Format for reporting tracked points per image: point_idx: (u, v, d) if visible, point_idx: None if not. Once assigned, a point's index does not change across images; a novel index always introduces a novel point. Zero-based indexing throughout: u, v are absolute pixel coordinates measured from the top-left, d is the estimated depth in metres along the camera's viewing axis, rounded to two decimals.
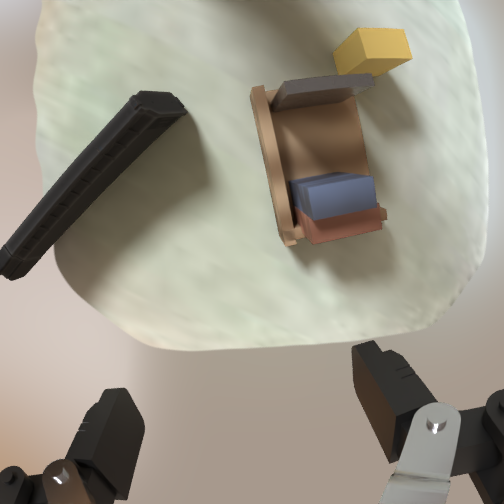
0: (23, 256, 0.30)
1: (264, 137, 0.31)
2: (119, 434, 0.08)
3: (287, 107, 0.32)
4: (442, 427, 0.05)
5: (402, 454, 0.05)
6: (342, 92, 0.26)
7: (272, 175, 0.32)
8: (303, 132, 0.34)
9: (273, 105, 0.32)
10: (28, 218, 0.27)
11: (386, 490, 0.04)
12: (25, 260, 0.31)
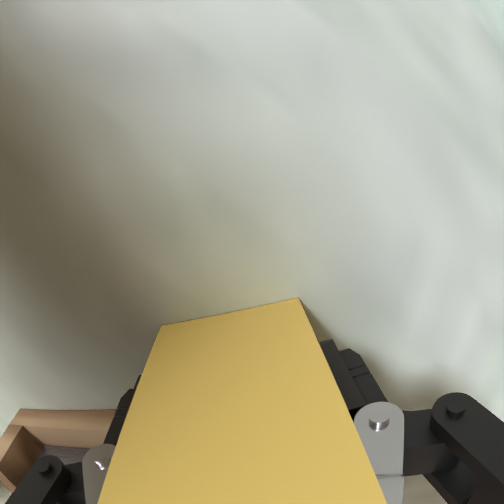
0: None
1: None
2: None
3: None
4: (383, 426, 0.06)
5: None
6: None
7: None
8: None
9: None
10: None
11: None
12: None
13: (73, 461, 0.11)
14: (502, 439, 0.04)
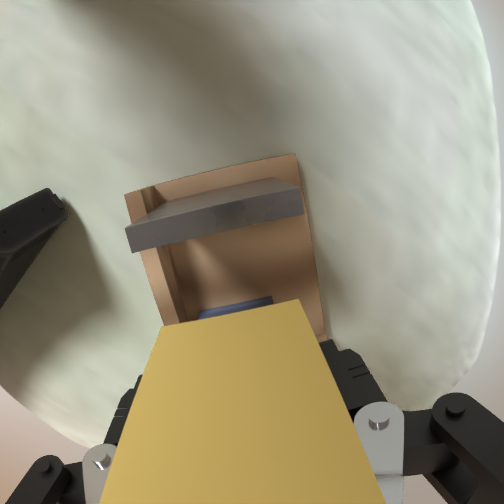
0: None
1: (147, 271, 0.21)
2: None
3: None
4: (383, 426, 0.06)
5: None
6: None
7: (164, 322, 0.22)
8: (218, 243, 0.25)
9: None
10: None
11: None
12: None
13: (200, 194, 0.22)
14: (502, 439, 0.04)
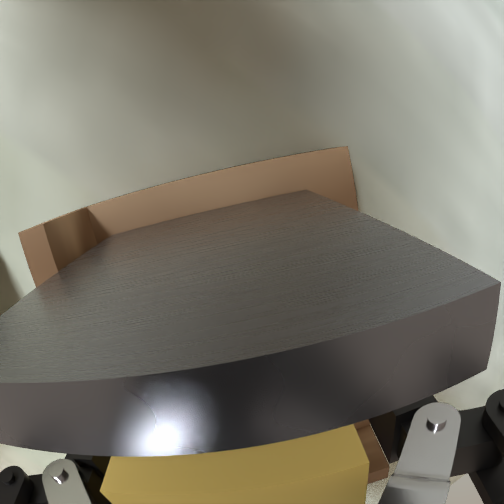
0: None
1: None
2: None
3: None
4: (442, 427, 0.05)
5: (402, 454, 0.05)
6: None
7: None
8: None
9: None
10: None
11: (386, 490, 0.04)
12: None
13: (165, 224, 0.11)
14: None
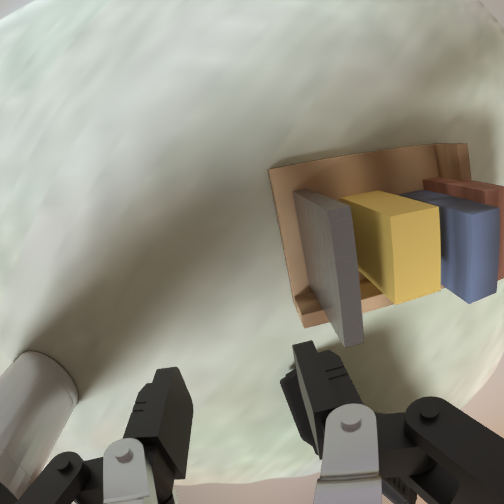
0: (407, 488, 0.29)
1: (369, 310, 0.24)
2: (176, 412, 0.09)
3: None
4: (354, 428, 0.06)
5: (323, 458, 0.06)
6: None
7: None
8: None
9: None
10: (386, 494, 0.27)
11: (316, 494, 0.04)
12: None
13: (306, 259, 0.25)
14: (480, 440, 0.05)
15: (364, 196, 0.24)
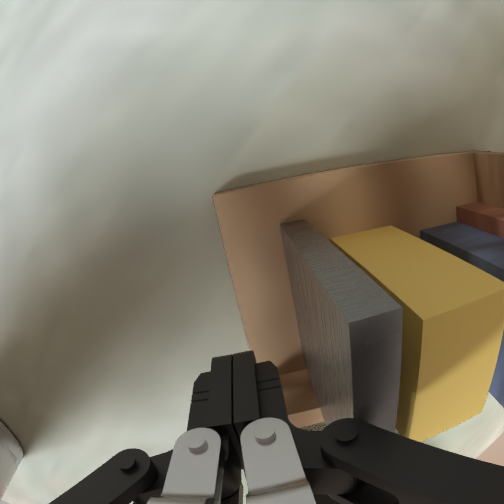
0: None
1: None
2: None
3: None
4: (266, 442, 0.06)
5: (247, 474, 0.06)
6: None
7: None
8: None
9: None
10: None
11: None
12: None
13: (300, 330, 0.16)
14: (409, 454, 0.05)
15: (369, 239, 0.14)
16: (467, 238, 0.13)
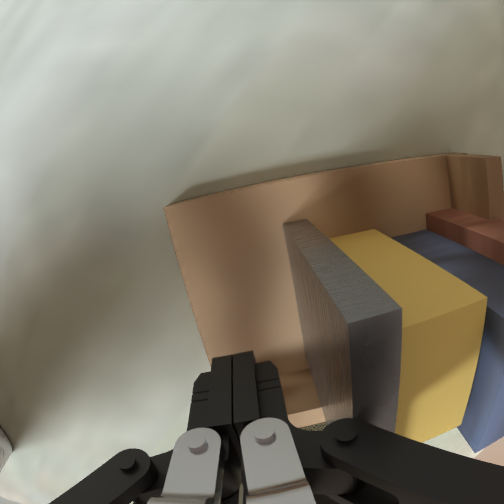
0: None
1: (321, 421, 0.15)
2: None
3: None
4: (266, 442, 0.06)
5: (246, 474, 0.06)
6: None
7: None
8: None
9: None
10: None
11: None
12: None
13: (303, 329, 0.16)
14: (409, 453, 0.05)
15: (349, 244, 0.14)
16: (431, 249, 0.13)
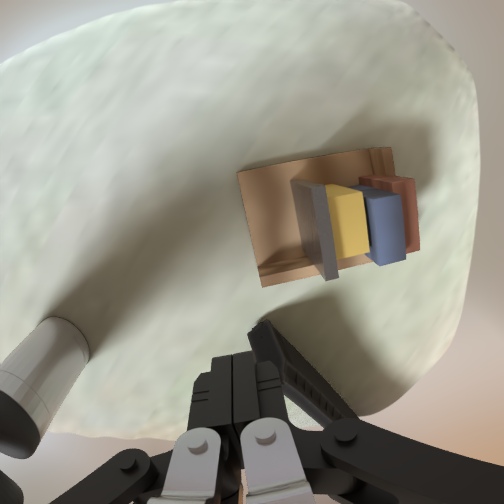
0: None
1: (312, 275, 0.34)
2: None
3: None
4: (266, 442, 0.06)
5: (247, 474, 0.06)
6: None
7: (347, 267, 0.34)
8: None
9: None
10: None
11: None
12: None
13: (300, 229, 0.35)
14: (409, 453, 0.05)
15: None
16: (356, 189, 0.32)
